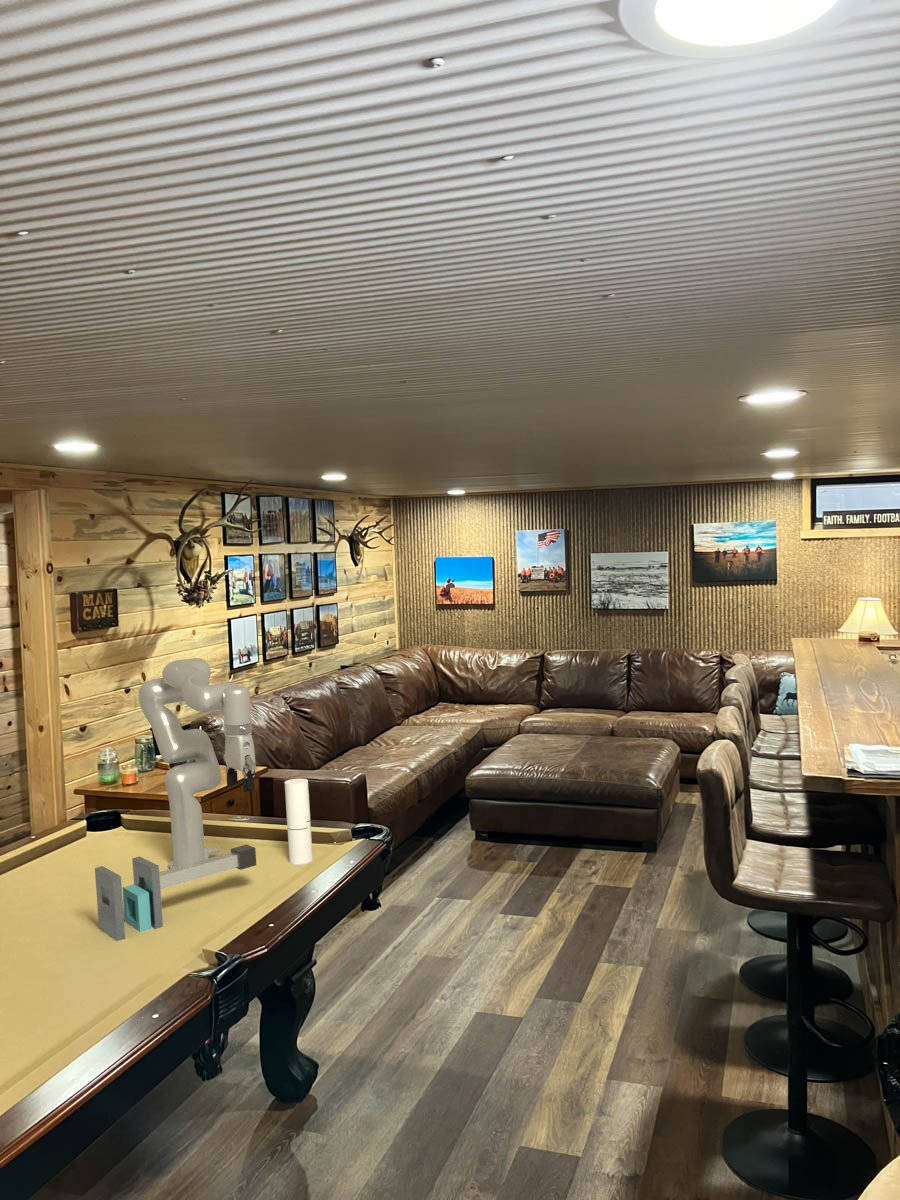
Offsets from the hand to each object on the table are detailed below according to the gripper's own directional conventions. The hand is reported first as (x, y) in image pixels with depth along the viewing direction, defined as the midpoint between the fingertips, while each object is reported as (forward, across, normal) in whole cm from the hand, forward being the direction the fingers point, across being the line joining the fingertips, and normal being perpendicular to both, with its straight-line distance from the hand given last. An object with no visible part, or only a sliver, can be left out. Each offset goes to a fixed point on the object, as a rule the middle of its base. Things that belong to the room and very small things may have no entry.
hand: (240, 788), depth 265 cm
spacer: (+29, -6, +34) cm, 45 cm away
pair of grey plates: (+28, -6, +36) cm, 46 cm away
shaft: (+21, -5, +15) cm, 27 cm away
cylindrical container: (+29, +6, -23) cm, 38 cm away
